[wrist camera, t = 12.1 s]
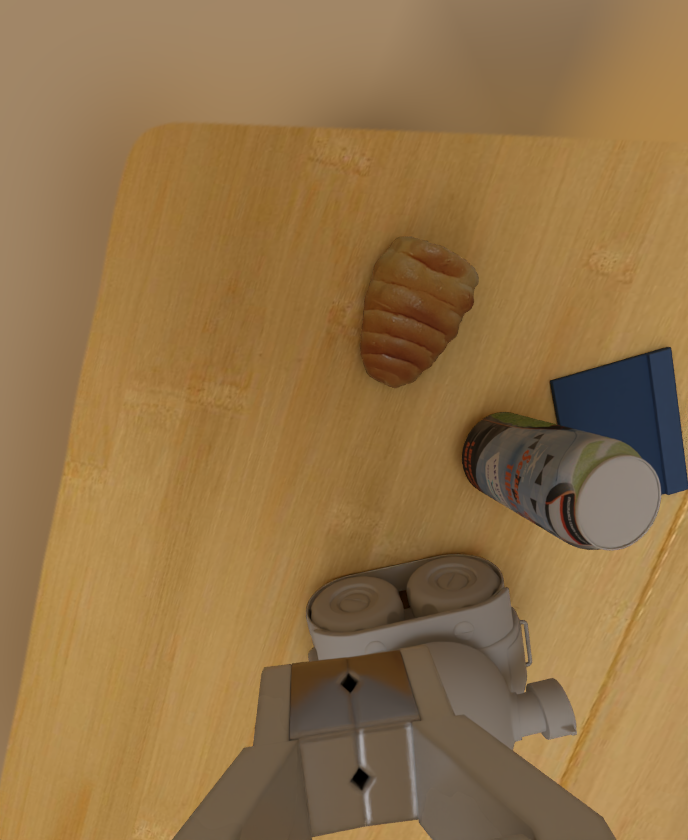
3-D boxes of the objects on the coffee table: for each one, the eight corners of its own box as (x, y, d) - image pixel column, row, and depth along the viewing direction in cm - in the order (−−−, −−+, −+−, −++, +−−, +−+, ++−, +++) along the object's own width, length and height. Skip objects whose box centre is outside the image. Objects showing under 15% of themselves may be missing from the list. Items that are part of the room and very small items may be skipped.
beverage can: (445, 425, 34) (520, 476, 22) (540, 392, 34) (666, 425, 22) (468, 502, 35) (551, 590, 23) (560, 470, 35) (689, 541, 23)
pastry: (422, 398, 33) (436, 407, 29) (334, 363, 32) (337, 367, 28) (477, 271, 32) (500, 263, 28) (387, 230, 31) (398, 216, 27)
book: (549, 380, 34) (554, 381, 33) (667, 346, 34) (674, 347, 33) (574, 517, 36) (579, 521, 35) (684, 485, 36) (691, 488, 35)
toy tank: (492, 540, 36) (595, 657, 23) (508, 659, 38) (610, 826, 25) (299, 582, 35) (296, 725, 22) (326, 700, 37) (337, 892, 24)
